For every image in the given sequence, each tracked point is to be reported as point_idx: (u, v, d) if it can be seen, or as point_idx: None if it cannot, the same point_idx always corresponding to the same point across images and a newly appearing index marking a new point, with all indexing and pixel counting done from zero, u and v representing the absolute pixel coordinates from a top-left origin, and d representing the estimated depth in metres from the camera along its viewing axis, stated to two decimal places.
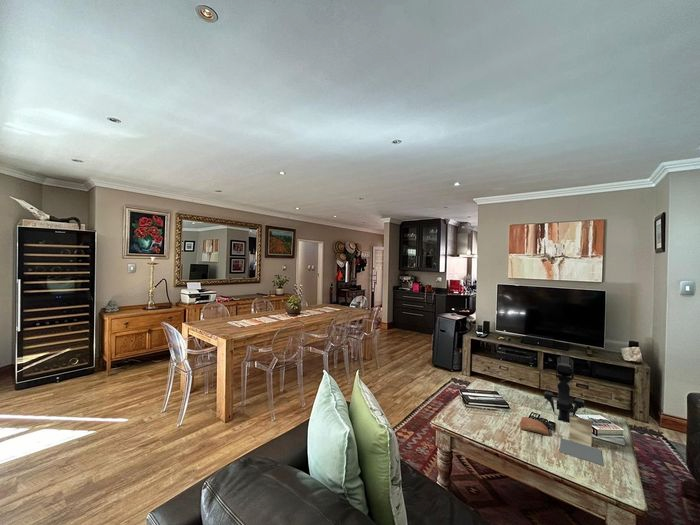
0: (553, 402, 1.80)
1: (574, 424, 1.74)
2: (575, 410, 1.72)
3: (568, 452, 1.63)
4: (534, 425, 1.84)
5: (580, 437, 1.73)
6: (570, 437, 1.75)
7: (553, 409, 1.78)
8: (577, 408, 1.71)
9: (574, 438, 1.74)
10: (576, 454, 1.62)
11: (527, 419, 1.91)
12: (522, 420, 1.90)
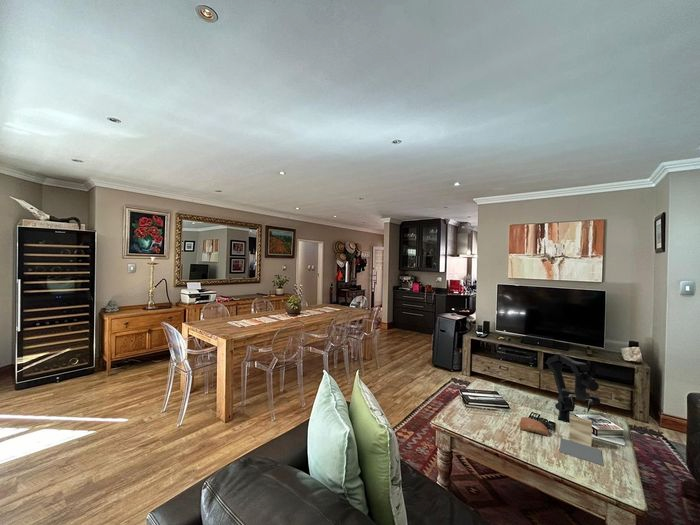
0: (571, 399, 1.89)
1: (574, 424, 1.74)
2: (590, 405, 1.82)
3: (568, 452, 1.63)
4: (534, 426, 1.83)
5: (580, 437, 1.73)
6: (570, 437, 1.75)
7: (571, 405, 1.87)
8: (592, 404, 1.80)
9: (574, 438, 1.74)
10: (576, 454, 1.62)
11: (527, 419, 1.91)
12: (522, 420, 1.90)
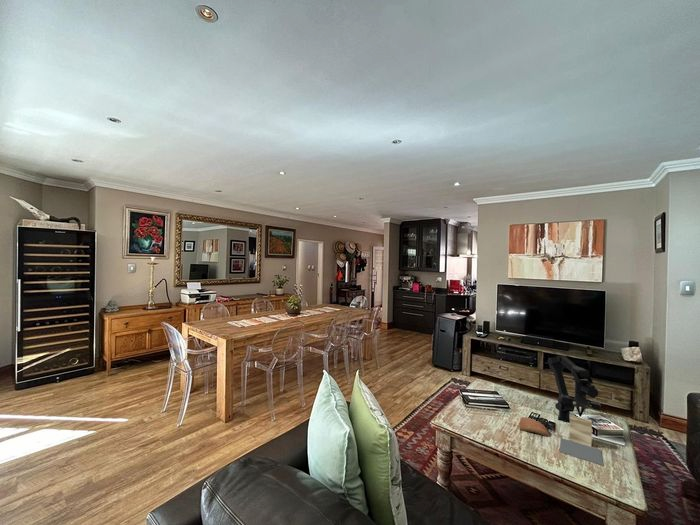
0: None
1: (574, 424, 1.74)
2: (582, 410, 1.83)
3: (568, 452, 1.63)
4: (533, 426, 1.83)
5: (580, 437, 1.73)
6: (570, 437, 1.75)
7: (579, 414, 1.84)
8: (584, 408, 1.81)
9: (574, 438, 1.74)
10: (576, 454, 1.62)
11: (526, 419, 1.90)
12: (521, 420, 1.90)
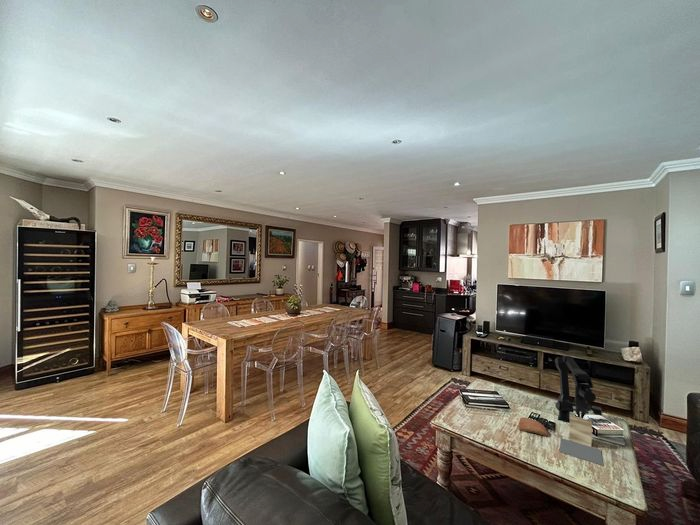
0: (579, 412, 1.79)
1: (574, 424, 1.74)
2: (583, 415, 1.77)
3: (568, 452, 1.63)
4: (532, 426, 1.83)
5: (580, 437, 1.73)
6: (570, 437, 1.75)
7: None
8: (585, 413, 1.75)
9: (574, 438, 1.74)
10: (576, 454, 1.62)
11: (526, 420, 1.90)
12: (521, 420, 1.89)
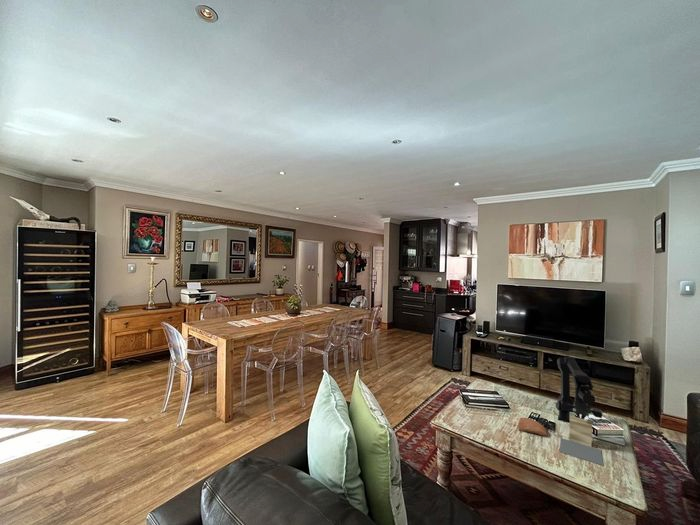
0: (579, 414, 1.76)
1: (574, 426, 1.73)
2: (583, 418, 1.74)
3: (568, 452, 1.63)
4: (532, 426, 1.82)
5: (580, 437, 1.72)
6: (570, 437, 1.75)
7: None
8: (585, 416, 1.73)
9: (574, 439, 1.74)
10: (576, 454, 1.62)
11: (525, 420, 1.90)
12: (520, 421, 1.89)
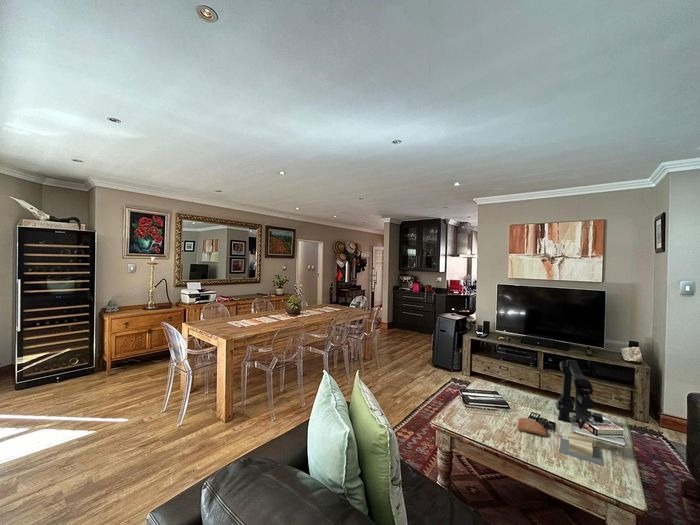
0: (579, 419, 1.71)
1: None
2: (583, 422, 1.68)
3: (568, 452, 1.63)
4: (532, 427, 1.82)
5: None
6: None
7: (579, 426, 1.70)
8: (585, 420, 1.67)
9: None
10: (576, 454, 1.62)
11: (525, 420, 1.89)
12: (520, 421, 1.89)
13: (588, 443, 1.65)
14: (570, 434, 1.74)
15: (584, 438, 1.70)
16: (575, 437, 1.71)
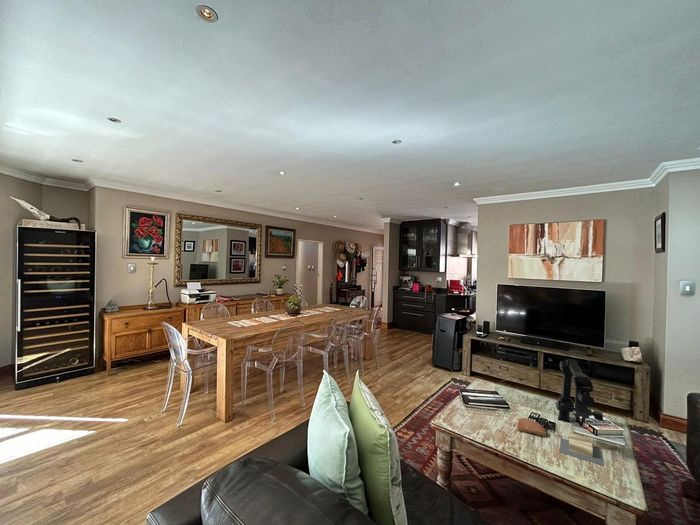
0: (579, 416, 1.71)
1: None
2: (583, 420, 1.68)
3: (568, 452, 1.63)
4: (531, 427, 1.82)
5: None
6: None
7: (580, 424, 1.70)
8: (585, 418, 1.67)
9: None
10: (576, 454, 1.62)
11: (524, 420, 1.89)
12: (520, 421, 1.89)
13: (588, 443, 1.65)
14: (570, 434, 1.74)
15: (584, 438, 1.70)
16: (575, 437, 1.71)
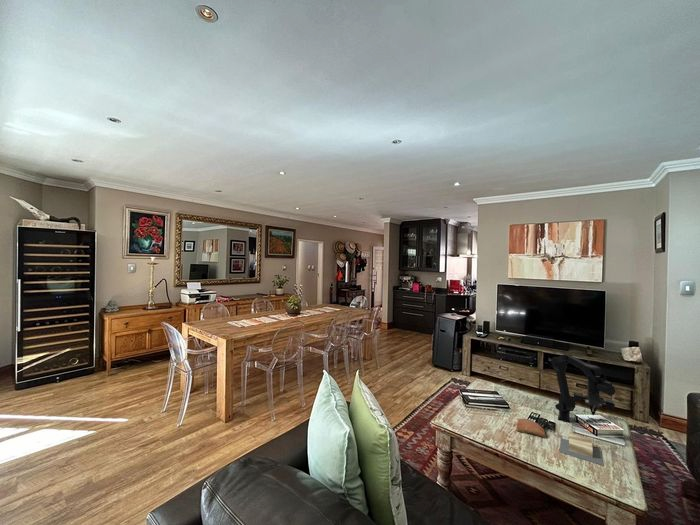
0: None
1: None
2: (595, 409, 1.78)
3: (568, 452, 1.63)
4: (530, 427, 1.82)
5: None
6: None
7: (592, 412, 1.79)
8: (597, 407, 1.77)
9: None
10: (576, 454, 1.62)
11: (524, 421, 1.89)
12: (519, 421, 1.88)
13: (588, 443, 1.65)
14: (570, 434, 1.74)
15: (584, 438, 1.70)
16: (575, 437, 1.71)
